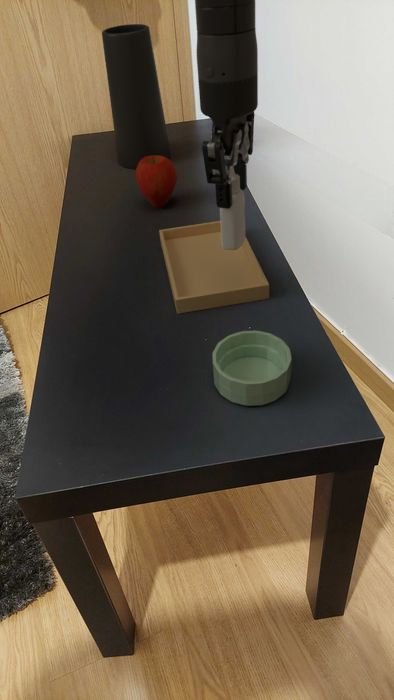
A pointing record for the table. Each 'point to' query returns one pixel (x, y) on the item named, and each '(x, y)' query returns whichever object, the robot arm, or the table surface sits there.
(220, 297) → the tray
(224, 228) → the eye dropper bottle
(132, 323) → the table surface
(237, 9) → the robot arm
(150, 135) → the vase
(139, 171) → the apple
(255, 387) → the bowl
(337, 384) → the table surface
